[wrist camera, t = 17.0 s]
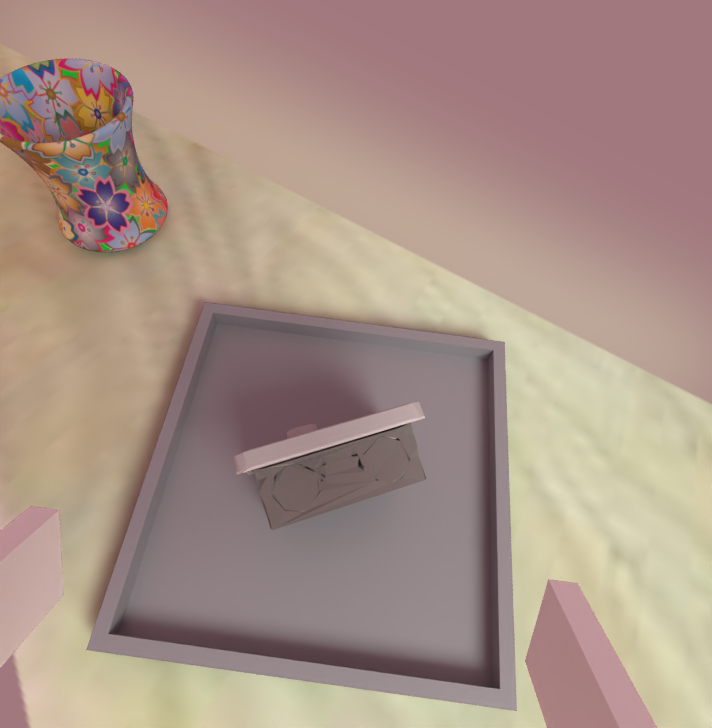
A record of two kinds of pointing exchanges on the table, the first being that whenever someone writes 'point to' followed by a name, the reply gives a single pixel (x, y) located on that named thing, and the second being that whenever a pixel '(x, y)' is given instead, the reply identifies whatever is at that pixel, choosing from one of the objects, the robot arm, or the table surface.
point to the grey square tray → (325, 517)
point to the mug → (83, 150)
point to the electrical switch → (335, 464)
